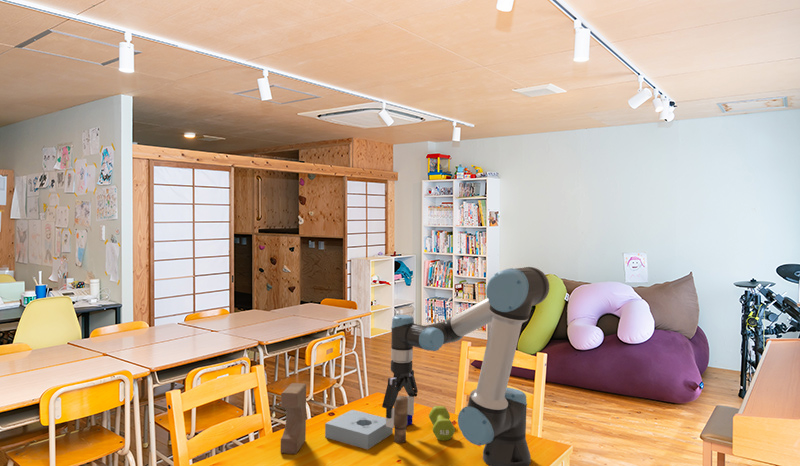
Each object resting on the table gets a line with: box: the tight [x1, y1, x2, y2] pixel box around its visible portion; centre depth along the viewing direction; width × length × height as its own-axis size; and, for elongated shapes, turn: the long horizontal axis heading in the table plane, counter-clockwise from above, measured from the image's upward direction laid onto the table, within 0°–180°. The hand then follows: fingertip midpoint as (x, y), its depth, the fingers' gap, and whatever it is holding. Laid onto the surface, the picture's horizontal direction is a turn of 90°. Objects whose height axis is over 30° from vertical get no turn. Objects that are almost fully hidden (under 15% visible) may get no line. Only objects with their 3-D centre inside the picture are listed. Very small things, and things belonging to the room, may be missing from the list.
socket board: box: [324, 409, 394, 450], centre depth 191 cm, size 18×16×5 cm
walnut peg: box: [393, 395, 408, 444], centre depth 187 cm, size 5×5×15 cm
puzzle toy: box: [406, 414, 414, 427], centre depth 203 cm, size 6×6×6 cm
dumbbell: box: [428, 405, 456, 441], centre depth 196 cm, size 16×8×7 cm, turn 2°
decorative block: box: [279, 382, 307, 455], centre depth 180 cm, size 11×6×20 cm, turn 173°
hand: (400, 420), depth 187 cm, fingers open, 13 cm apart
